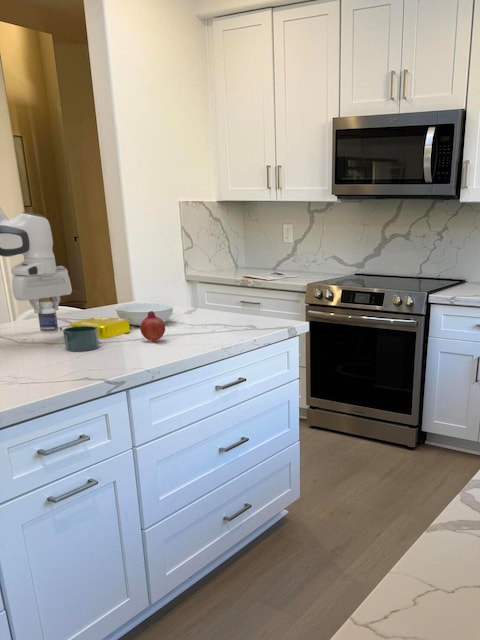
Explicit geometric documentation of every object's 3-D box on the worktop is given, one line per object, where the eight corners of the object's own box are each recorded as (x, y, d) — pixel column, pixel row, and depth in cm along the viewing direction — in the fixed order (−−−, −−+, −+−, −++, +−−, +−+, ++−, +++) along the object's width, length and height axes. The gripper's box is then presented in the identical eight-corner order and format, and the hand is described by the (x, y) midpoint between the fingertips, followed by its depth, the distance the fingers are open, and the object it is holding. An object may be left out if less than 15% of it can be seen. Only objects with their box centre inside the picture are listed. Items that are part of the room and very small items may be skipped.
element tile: (69, 335, 210) (67, 322, 208) (99, 327, 223) (97, 314, 221) (104, 339, 205) (102, 325, 203) (132, 331, 218) (131, 318, 216)
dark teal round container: (74, 352, 186) (71, 333, 184) (60, 347, 193) (57, 328, 191) (104, 347, 193) (102, 329, 191) (90, 343, 200) (88, 325, 198)
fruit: (165, 343, 201) (162, 313, 197) (140, 344, 200) (137, 313, 196) (167, 338, 208) (164, 308, 205) (142, 338, 207) (139, 309, 203)
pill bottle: (60, 333, 197) (56, 302, 193) (42, 334, 194) (38, 303, 191) (56, 330, 201) (52, 300, 198) (39, 331, 198) (34, 301, 195)
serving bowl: (154, 332, 220) (152, 313, 217) (105, 327, 226) (103, 309, 224) (184, 321, 238) (183, 304, 236) (139, 317, 245) (137, 300, 242)
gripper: (59, 264, 201) (64, 307, 205) (6, 269, 183) (12, 315, 188) (73, 265, 198) (78, 308, 203) (21, 270, 181) (27, 316, 185)
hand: (46, 311), depth 195 cm, fingers closed on pill bottle, 5 cm apart
